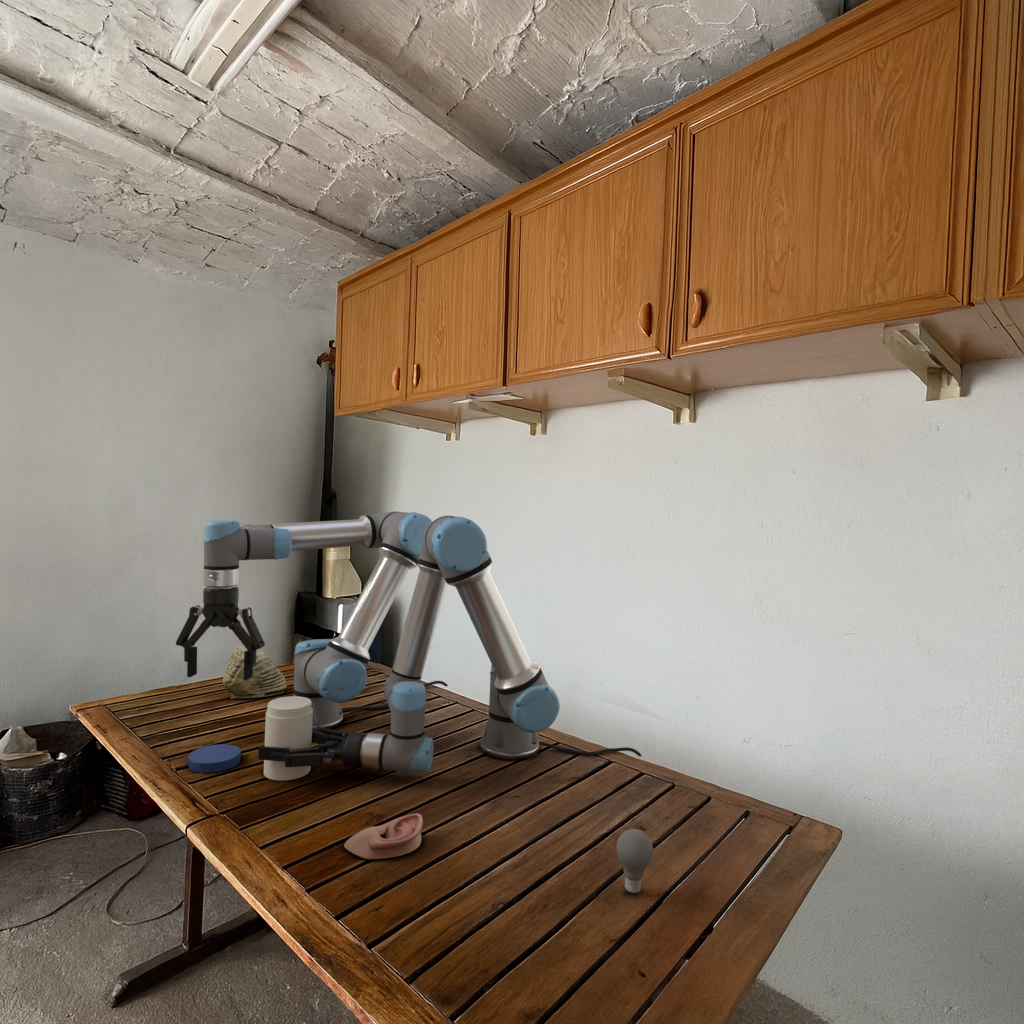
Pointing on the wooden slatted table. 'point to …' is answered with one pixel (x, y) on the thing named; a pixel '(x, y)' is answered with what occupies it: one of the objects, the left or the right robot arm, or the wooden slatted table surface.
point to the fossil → (263, 680)
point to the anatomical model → (387, 838)
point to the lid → (214, 758)
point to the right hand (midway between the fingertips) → (270, 743)
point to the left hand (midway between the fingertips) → (220, 677)
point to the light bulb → (634, 857)
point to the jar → (288, 733)
